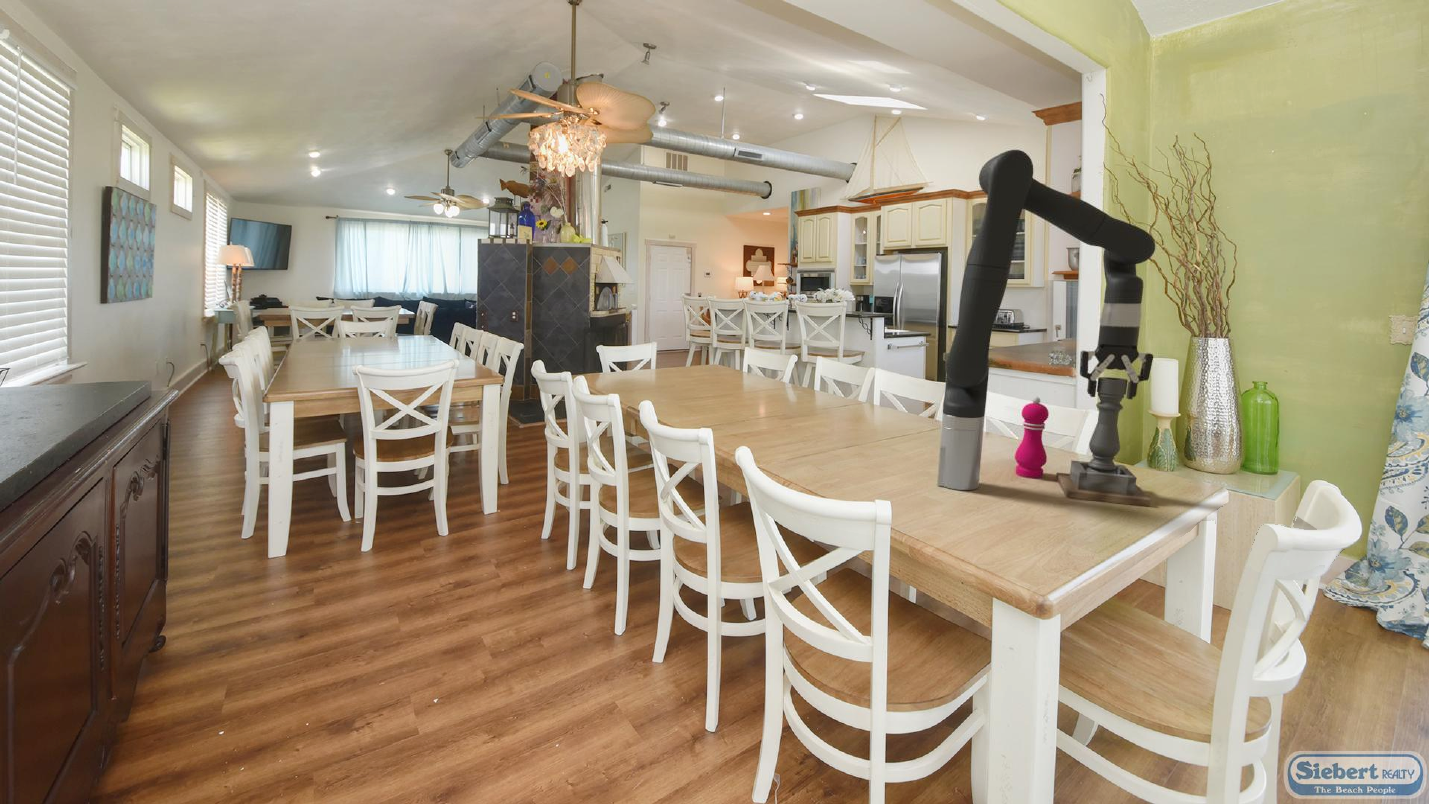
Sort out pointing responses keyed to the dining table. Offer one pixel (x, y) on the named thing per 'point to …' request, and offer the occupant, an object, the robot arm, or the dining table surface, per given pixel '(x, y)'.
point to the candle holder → (1107, 425)
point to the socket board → (1102, 485)
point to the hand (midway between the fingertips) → (1110, 397)
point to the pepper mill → (1032, 441)
